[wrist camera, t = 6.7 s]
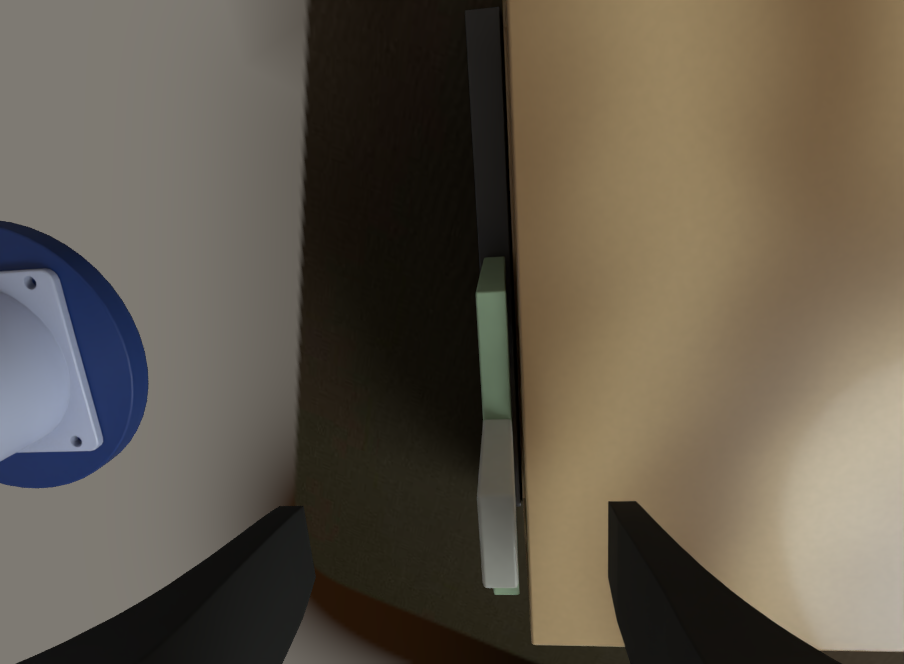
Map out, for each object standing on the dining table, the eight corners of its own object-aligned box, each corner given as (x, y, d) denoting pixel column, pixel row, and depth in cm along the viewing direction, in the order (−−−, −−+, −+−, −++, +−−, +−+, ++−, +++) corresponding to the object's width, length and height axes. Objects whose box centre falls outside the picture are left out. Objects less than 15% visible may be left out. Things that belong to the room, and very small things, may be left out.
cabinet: (493, 502, 24) (489, 645, 16) (465, 12, 18) (440, -96, 11) (799, 500, 22) (942, 654, 15) (862, -31, 17) (1129, -187, 10)
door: (496, 481, 23) (491, 713, 13) (483, 257, 20) (465, 332, 10) (515, 481, 23) (524, 714, 13) (504, 256, 20) (506, 330, 10)
